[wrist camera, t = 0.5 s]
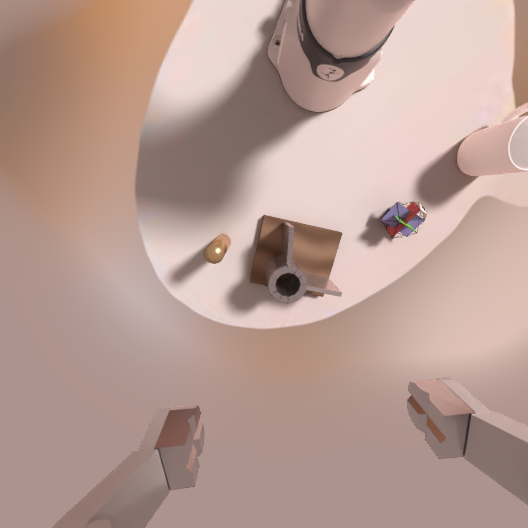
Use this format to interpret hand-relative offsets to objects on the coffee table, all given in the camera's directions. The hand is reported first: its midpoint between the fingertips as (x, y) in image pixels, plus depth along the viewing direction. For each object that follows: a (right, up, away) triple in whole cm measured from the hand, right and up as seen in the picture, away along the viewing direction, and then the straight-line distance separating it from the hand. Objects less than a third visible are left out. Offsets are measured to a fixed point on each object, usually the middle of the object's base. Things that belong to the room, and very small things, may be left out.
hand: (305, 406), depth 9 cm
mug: (+40, +28, +38) cm, 62 cm away
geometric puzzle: (+25, +15, +41) cm, 50 cm away
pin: (-10, +10, +40) cm, 43 cm away
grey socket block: (+6, +7, +40) cm, 41 cm away
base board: (+5, +7, +42) cm, 43 cm away
